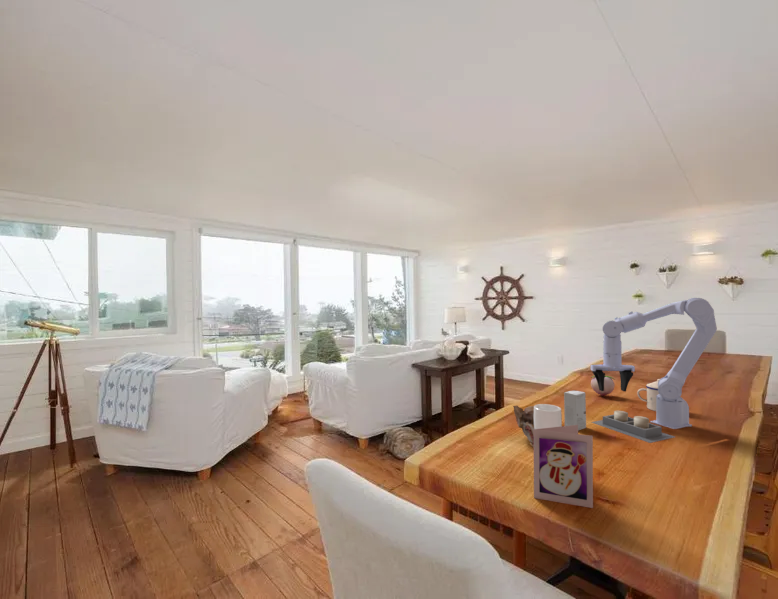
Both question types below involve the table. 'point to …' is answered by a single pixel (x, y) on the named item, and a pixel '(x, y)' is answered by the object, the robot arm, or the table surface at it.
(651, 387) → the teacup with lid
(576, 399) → the skincare box
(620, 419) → the beige round piece
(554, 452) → the greeting card
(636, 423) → the cream cylinder
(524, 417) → the seed pod
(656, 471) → the table surface
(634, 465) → the table surface
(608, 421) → the gray compartment tray
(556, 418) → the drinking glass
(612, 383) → the decorative fruit
